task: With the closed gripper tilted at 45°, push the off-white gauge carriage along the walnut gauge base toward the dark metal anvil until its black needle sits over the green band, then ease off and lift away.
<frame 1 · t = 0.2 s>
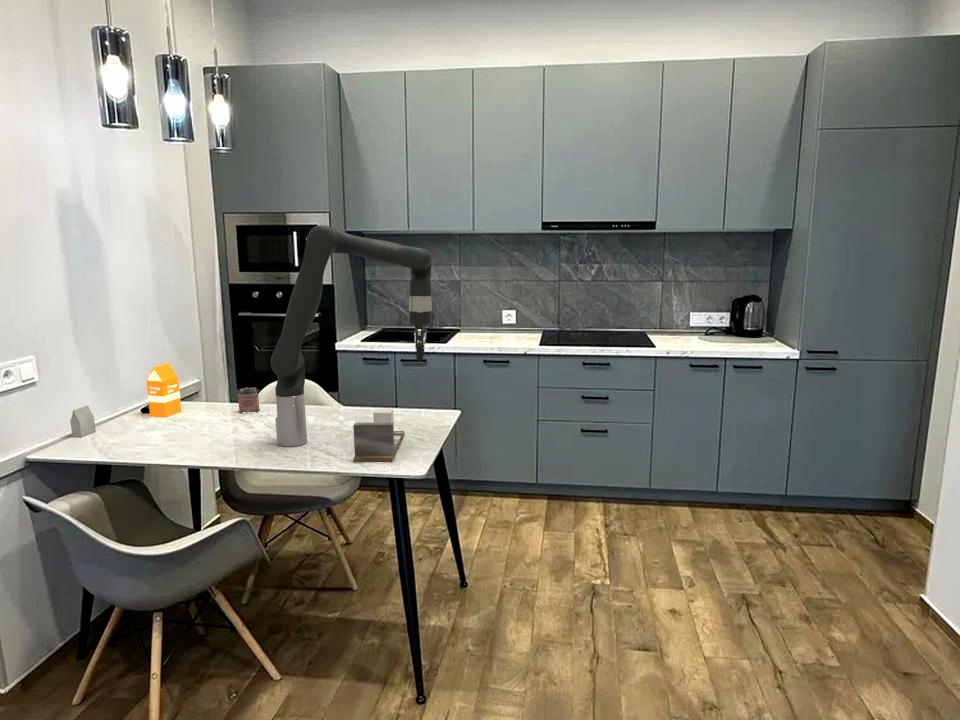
hand: (420, 358, 218), 29 cm above the table, tool pointing down, fingers open, 8 cm apart
orange juice: (166, 414, 262), on the table
carriage: (387, 423, 222), point 6 cm above the table, slide at 0.0 cm
red container: (249, 412, 263), on the table
gauge base: (380, 448, 217), on the table
grey house block: (84, 435, 236), on the table
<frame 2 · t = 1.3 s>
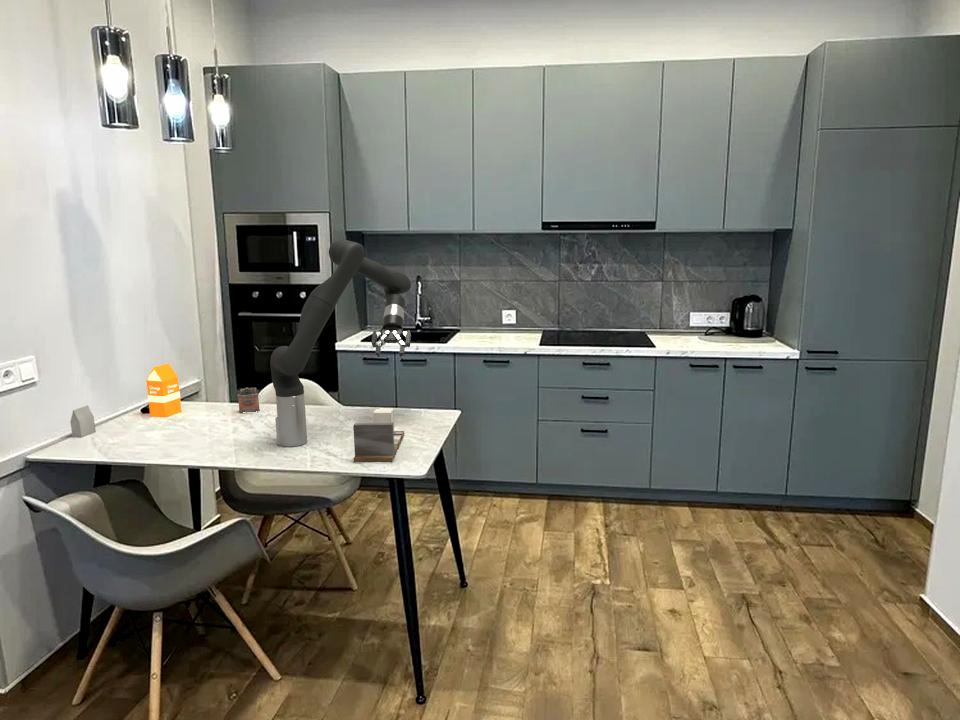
hand: (389, 355, 235), 27 cm above the table, tool tilted 45°, fingers open, 7 cm apart
nothing on the table moved.
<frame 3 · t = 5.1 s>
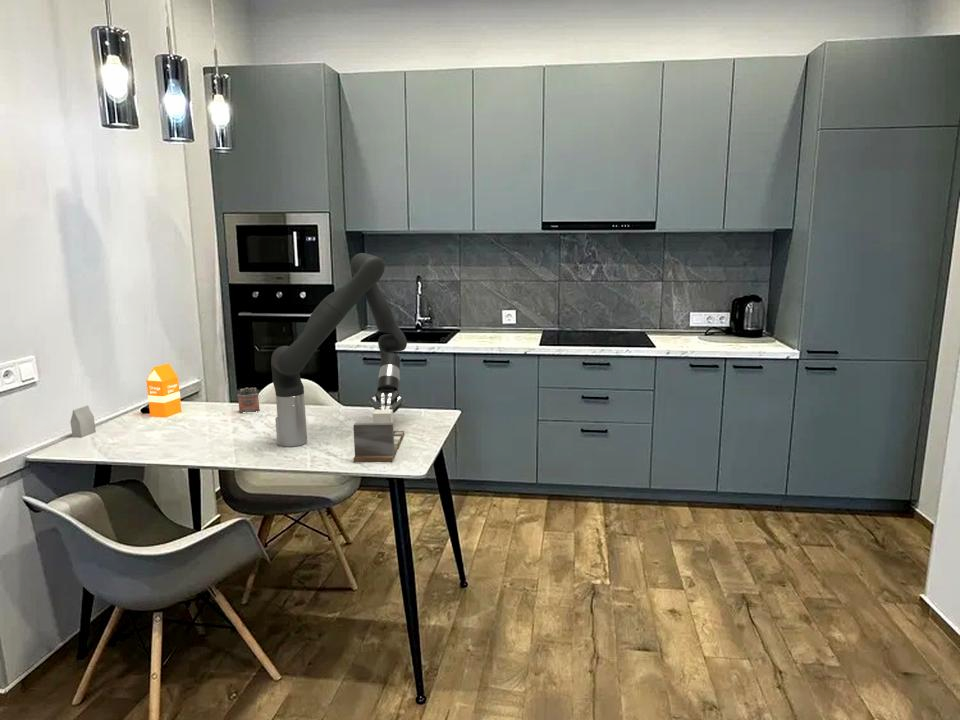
hand: (384, 422, 226), 6 cm above the table, tool tilted 45°, fingers closed
carriage: (387, 424, 221), point 6 cm above the table, slide at 1.0 cm, touching gripper
everything else where it was.
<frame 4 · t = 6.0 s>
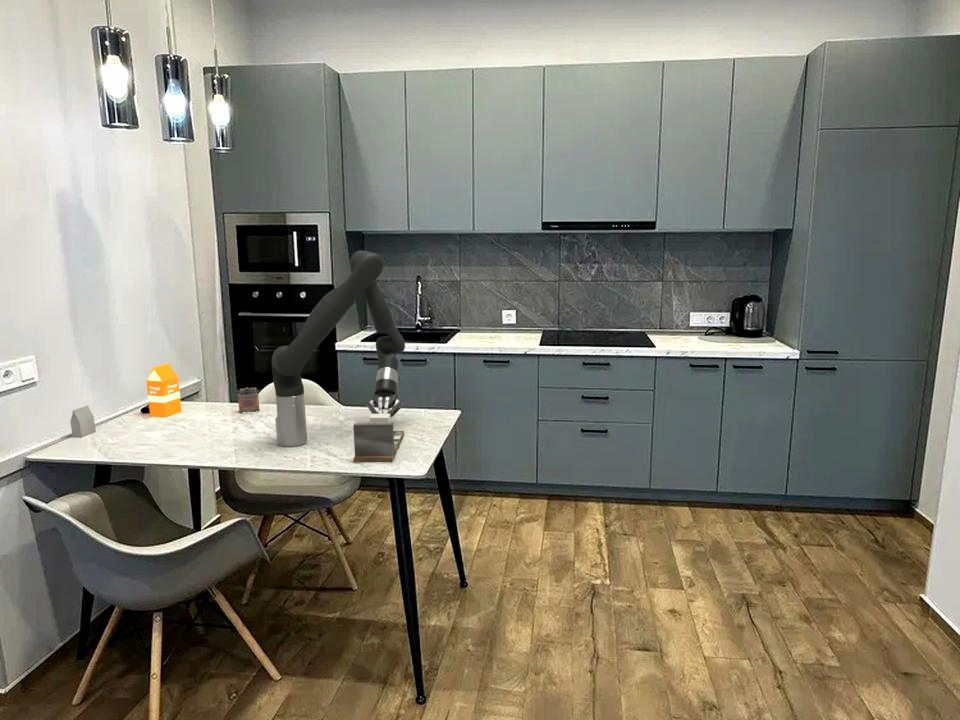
hand: (382, 426, 220), 6 cm above the table, tool tilted 45°, fingers closed
carriage: (384, 429, 216), point 6 cm above the table, slide at 6.2 cm, touching gripper
everything else where it was.
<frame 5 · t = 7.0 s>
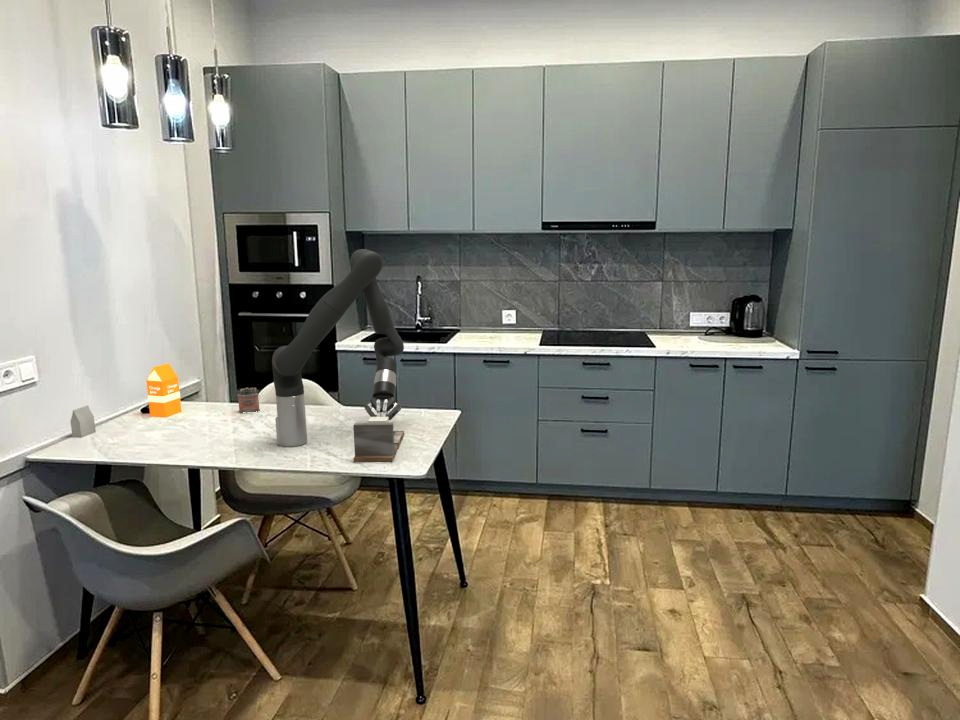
hand: (380, 430, 217), 6 cm above the table, tool tilted 45°, fingers closed
carriage: (383, 432, 213), point 6 cm above the table, slide at 10.0 cm, touching gripper
everything else where it was.
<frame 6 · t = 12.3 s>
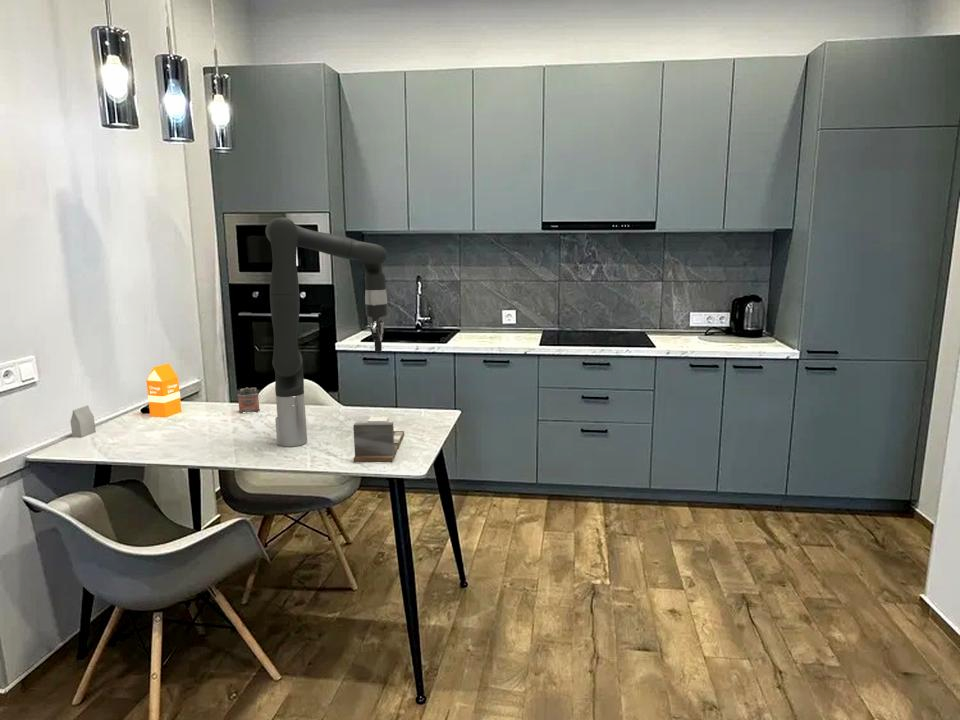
hand: (378, 351, 231), 29 cm above the table, tool pointing down, fingers closed
carriage: (383, 432, 213), point 6 cm above the table, slide at 10.1 cm
everything else where it was.
at the end: carriage slide at 10.1 cm; the gripper is holding nothing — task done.
